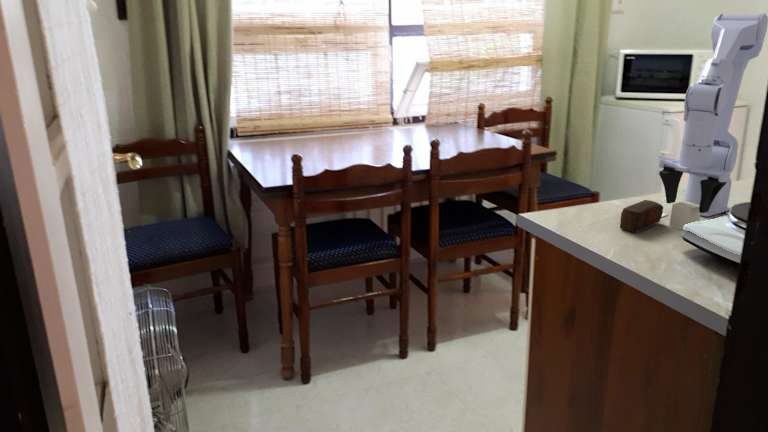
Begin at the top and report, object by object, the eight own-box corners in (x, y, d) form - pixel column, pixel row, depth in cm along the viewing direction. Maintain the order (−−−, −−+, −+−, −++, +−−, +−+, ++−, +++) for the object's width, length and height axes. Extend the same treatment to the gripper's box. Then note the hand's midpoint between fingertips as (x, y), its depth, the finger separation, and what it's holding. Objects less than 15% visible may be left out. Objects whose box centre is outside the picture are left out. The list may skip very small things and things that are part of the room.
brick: (636, 234, 123) (639, 213, 121) (619, 229, 126) (621, 208, 124) (661, 221, 129) (664, 201, 128) (644, 217, 132) (647, 197, 130)
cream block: (680, 222, 130) (684, 201, 128) (697, 228, 126) (701, 205, 125) (669, 226, 128) (672, 204, 126) (686, 231, 124) (690, 209, 123)
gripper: (653, 140, 125) (644, 201, 129) (719, 153, 113) (707, 219, 118) (674, 136, 128) (665, 196, 133) (741, 148, 117) (728, 214, 121)
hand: (686, 207), depth 125 cm, fingers open, 7 cm apart
